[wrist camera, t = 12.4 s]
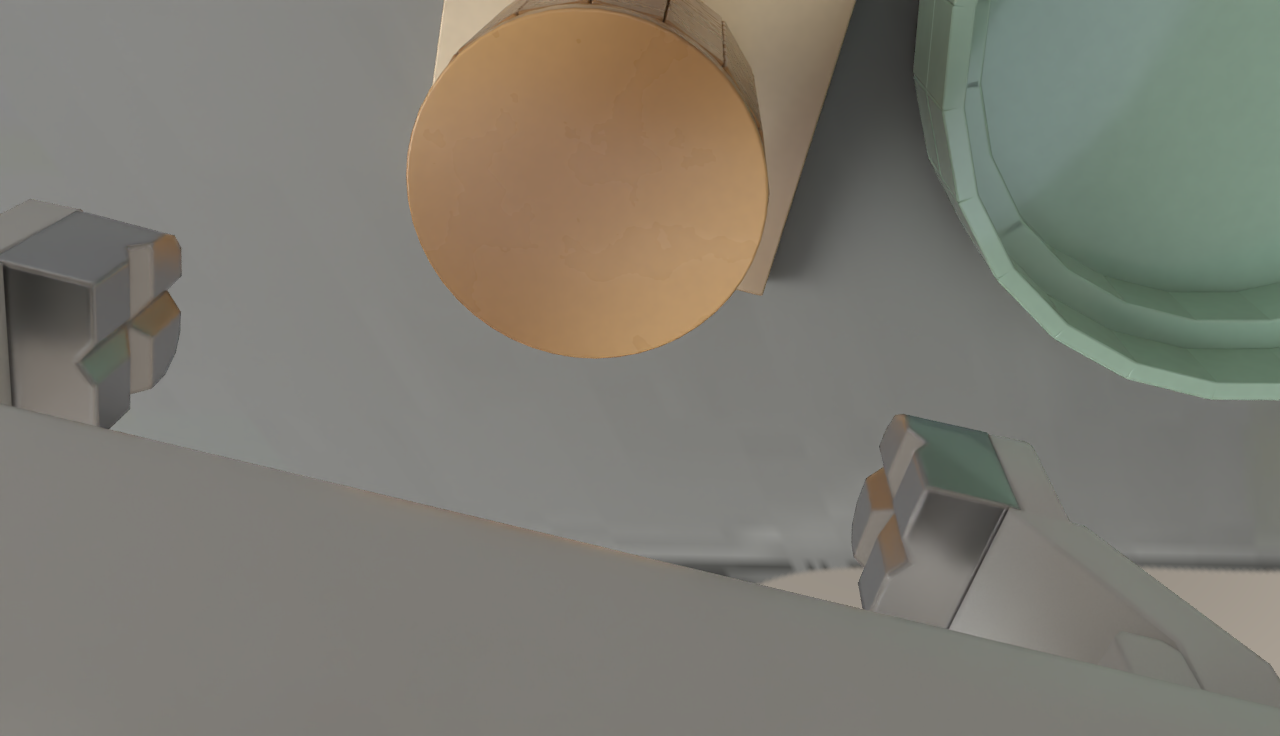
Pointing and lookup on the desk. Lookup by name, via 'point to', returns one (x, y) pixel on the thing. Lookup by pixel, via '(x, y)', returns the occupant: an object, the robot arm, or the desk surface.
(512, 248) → the wood cap
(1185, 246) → the bowl
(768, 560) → the desk surface
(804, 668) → the robot arm
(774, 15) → the ball stand
